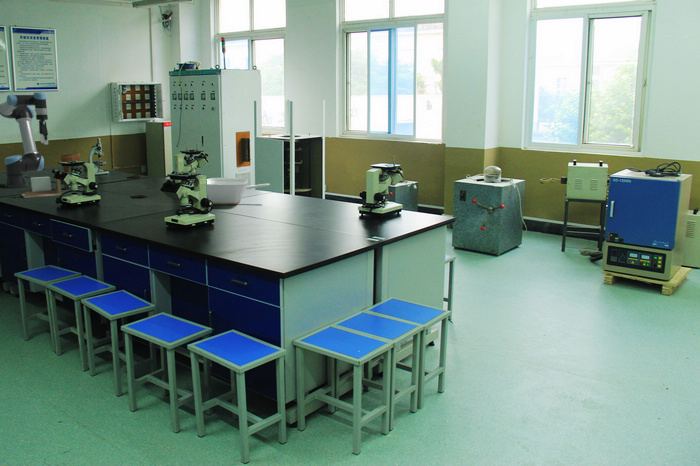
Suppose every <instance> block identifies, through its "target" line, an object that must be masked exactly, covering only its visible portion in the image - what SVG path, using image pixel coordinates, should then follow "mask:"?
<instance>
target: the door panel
mask: <svg viewBox="0 0 700 466" xmlns="http://www.w3.org/2000/svg"><path fill="white" fill-rule="evenodd" d="M30 185H31V191H32V192H37V191H50V190H51V189H52V186H51V185H52V183H51V176H39V177H38V176H37V177H30Z"/></svg>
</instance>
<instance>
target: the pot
mask: <svg viewBox="0 0 700 466" xmlns="http://www.w3.org/2000/svg"><path fill="white" fill-rule="evenodd" d="M206 180H207V193H206V196H207V198H208V201H209V200H211V201H212V202H213V204H212V205H237V204H238V203H240V202H241V200H242V198H243V194H244V192H245V189H246V190H251V189H256V188H257V189H258V188H264V187H269V186H270V185H271V184H270V183H259V184H254V185H247V184H248V182H249V178H244V177H237V178H236V177H211V178H207V179H206Z"/></svg>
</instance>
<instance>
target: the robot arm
mask: <svg viewBox="0 0 700 466" xmlns="http://www.w3.org/2000/svg"><path fill="white" fill-rule="evenodd" d="M33 106H34V108H35V109H33ZM47 107H48V106H47V97H46V93H45V92H41V91H40V92H35V91H34V92H33V94H8V95H7V96H6V101H4V102H2V103H0V116H1V117H3V118H5V119H6V118H7V119H14V120H15V122H16V123H18V127H19V131H20V137H21V140H22V141H21V142H22V146H23V147H22V148H23V151H24V153H23V154H22V155H21V154H16V155H12V156H11V155H10V156H7V157H5V159H4V165H5V166H4V167H5V173H6V175H5V176H6V178H5V183H4V185H5V186H4V187H5V188H8V189H9V188H10V189H11V188H12V189H16V188H17V189H18V188H25V187H28V181H27V180H26V178H25V175H24V173H30V172H40V171H43V169H44V166H45V159H44V156H43V155H41V154H40V152H39V151H37V150H38V149H37V145H36V141H35V135H34V132H33V131H34V130H33V127H32V121H33V118H35V119H36V120H37V121H38V126H39V127H38V128H39V131H38V133H39V136H40V143H41V144H43V145H47V146H48V145H49V137H48V136H49V133H48V127H47V121H48V119H49V115H48V108H47ZM34 111H35V113H34Z"/></svg>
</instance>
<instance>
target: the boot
mask: <svg viewBox="0 0 700 466" xmlns="http://www.w3.org/2000/svg"><path fill="white" fill-rule="evenodd" d="M80 153H81V152H76V153H70V154H63V155H60V159H61V163H62V162H69V161H75V160H77V161H81V156H80ZM62 169H63V173H64V172H69V167H65V166H63V165H62ZM63 186H64V189H69V188H70V187H69V186H68V185H66V184H65V183H64V182H63Z"/></svg>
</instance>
